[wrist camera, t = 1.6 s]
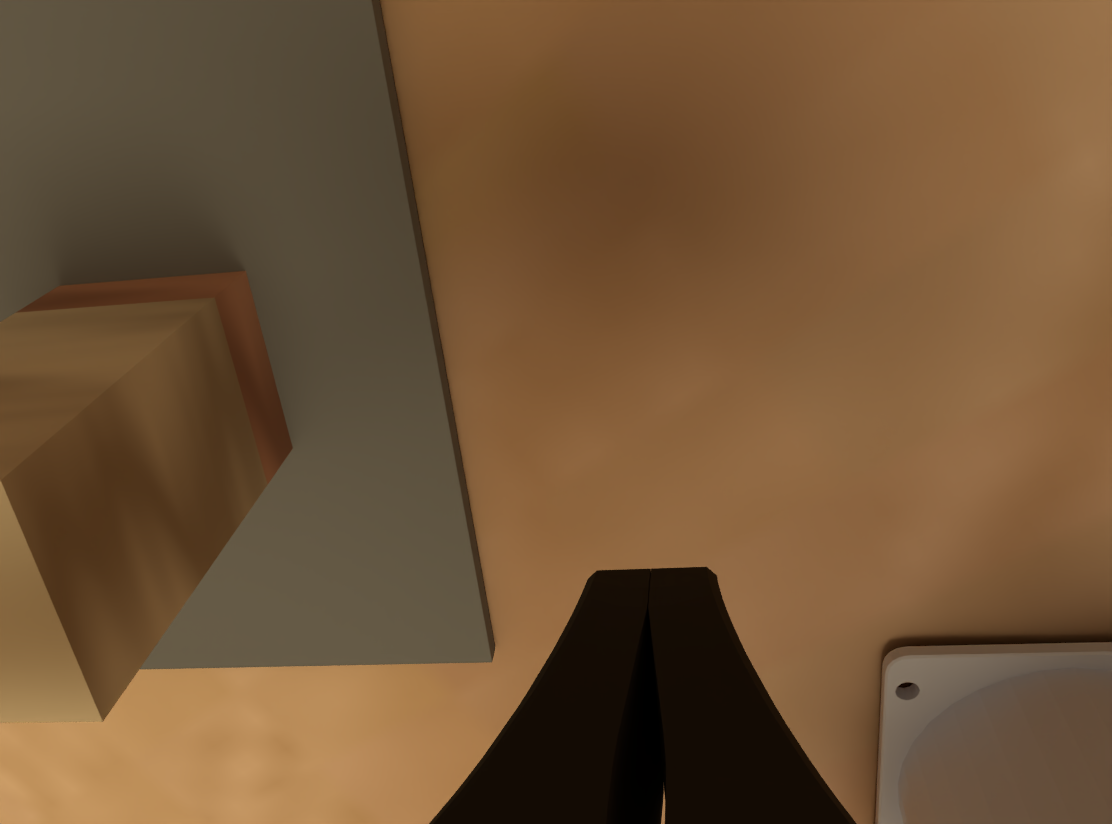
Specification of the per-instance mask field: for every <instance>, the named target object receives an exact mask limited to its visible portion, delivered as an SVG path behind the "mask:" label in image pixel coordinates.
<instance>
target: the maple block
mask: <svg viewBox="0 0 1112 824" xmlns="http://www.w3.org/2000/svg"><path fill="white" fill-rule="evenodd" d="M292 449H293V447H292V443H291V440H290V436H289V432H288V428H287V425H286V421H285V417H284V413H283V409H282V406H281V402H280V398H279V394H278V391H277V387H276V383H275V379H274V375H273V372H272V368H271V364H270V360H269V357H268V353H267V349H266V345H265V342H264V338H263V334H262V330H261V326H260V323H259V319H258V315H257V311H256V308H255V304H254V300H253V296H252V292H251V289H250V285H249V281H248V277H247V274H246V271H238V272H225V273H213V274H200V275H188V276H175V277H163V278H150V279H138V280H125V281H113V282H100V283H88V284H75V285H63V286H58V287H56V288H55V289H53V290H51V291H50V292H48V293H47V294H45V295H43V296H42V297H40V298H38V299H37V300H35V301H34V302H32V303H30V304H29V305H27V306H25V307H24V308H22V309H21V310H19V311H17V312H16V313H14V314H13V315H11V316H9V317H8V318H6V319H4V320H3V321H1V322H0V723H41V722H103V721H104V719H105V718H106V716H107V715H108V714H109V712H110V711H111V709H112V708H113V706H114V705H115V703H116V702H117V701H118V699H119V698H120V696H121V695H122V693H123V692H124V691H125V689H126V688H127V686H128V685H129V683H130V682H131V680H132V679H133V678H134V676H135V675H136V673H137V672H138V670H139V669H140V668H141V666H142V665H143V663H144V662H145V660H146V659H147V657H148V656H149V655H150V653H151V652H152V650H153V649H154V647H155V646H156V645H157V643H158V642H159V640H160V639H161V637H162V636H163V634H164V633H165V632H166V630H167V629H168V627H169V626H170V624H171V623H172V621H173V620H174V619H175V617H176V616H177V614H178V613H179V611H180V610H181V609H182V607H183V606H184V604H185V603H186V601H187V600H188V598H189V597H190V596H191V594H192V593H193V591H194V590H195V588H196V587H197V586H198V584H199V583H200V581H201V580H202V578H203V577H204V575H205V574H206V573H207V571H208V570H209V568H210V567H211V565H212V564H213V563H214V561H215V560H216V558H217V557H218V555H219V554H220V552H221V551H222V550H223V548H224V547H225V545H226V544H227V542H228V541H229V540H230V538H231V537H232V535H233V534H234V532H235V531H236V529H237V528H238V527H239V525H240V524H241V522H242V521H243V519H244V518H245V517H246V515H247V514H248V512H249V511H250V509H251V508H252V506H253V505H254V504H255V502H256V501H257V499H258V498H259V496H260V495H261V494H262V492H263V491H264V489H265V488H266V486H267V485H268V483H269V482H270V481H271V479H272V478H273V476H274V475H275V473H276V472H277V471H278V469H279V468H280V466H281V465H282V463H283V462H284V460H285V459H286V458H287V456H288V455H289V453H290V452H291V450H292Z"/></svg>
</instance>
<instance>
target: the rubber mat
mask: <svg viewBox="0 0 1112 824" xmlns="http://www.w3.org/2000/svg"><path fill="white" fill-rule="evenodd" d="M238 271H246V274H247V277H248V281H249V285H250V289H251V292H252V296H253V300H254V304H255V308H256V311H257V315H258V319H259V323H260V326H261V330H262V334H263V338H264V342H265V345H266V349H267V353H268V357H269V360H270V364H271V368H272V372H273V375H274V379H275V383H276V387H277V391H278V394H279V398H280V402H281V406H282V409H283V413H284V417H285V421H286V425H287V428H288V432H289V436H290V440H291V443H292V447H293V449H292V450H291V452H290V453H289V455H288V456H287V458H286V459H285V460H284V462H283V463H282V465H281V466H280V468H279V469H278V471H277V472H276V473H275V475H274V476H273V478H272V479H271V481H270V482H269V483H268V485H267V486H266V488H265V489H264V491H263V492H262V494H261V495H260V496H259V498H258V499H257V501H256V502H255V504H254V505H253V506H252V508H251V509H250V511H249V512H248V514H247V515H246V517H245V518H244V519H243V521H242V522H241V524H240V525H239V527H238V528H237V529H236V531H235V532H234V534H233V535H232V537H231V538H230V540H229V541H228V542H227V544H226V545H225V547H224V548H223V550H222V551H221V552H220V554H219V555H218V557H217V558H216V560H215V561H214V563H213V564H212V565H211V567H210V568H209V570H208V571H207V573H206V574H205V575H204V577H203V578H202V580H201V581H200V583H199V584H198V586H197V587H196V588H195V590H194V591H193V593H192V594H191V596H190V597H189V598H188V600H187V601H186V603H185V604H184V606H183V607H182V609H181V610H180V611H179V613H178V614H177V616H176V617H175V619H174V620H173V621H172V623H171V624H170V626H169V627H168V629H167V630H166V632H165V633H164V634H163V636H162V637H161V639H160V640H159V642H158V643H157V645H156V646H155V647H154V649H153V650H152V652H151V653H150V655H149V656H148V657H147V659H146V660H145V662H144V663H143V665H142V666H141V668H140V669H181V668H231V667H280V666H330V665H380V664H429V663H479V662H492V660H493V656H494V651H495V644H494V638H493V633H492V627H491V622H490V616H489V610H488V605H487V599H486V594H485V588H484V582H483V577H482V571H481V566H480V560H479V554H478V549H477V543H476V538H475V532H474V526H473V521H472V515H471V510H470V504H469V498H468V493H467V487H466V482H465V476H464V470H463V465H462V459H461V454H460V448H459V442H458V437H457V431H456V426H455V420H454V414H453V409H452V403H451V398H450V392H449V386H448V381H447V375H446V370H445V364H444V358H443V353H442V347H441V342H440V336H439V330H438V325H437V319H436V314H435V308H434V303H433V297H432V291H431V286H430V280H429V275H428V269H427V263H426V258H425V252H424V247H423V241H422V235H421V230H420V224H419V219H418V213H417V207H416V202H415V196H414V191H413V185H412V179H411V174H410V168H409V163H408V157H407V151H406V146H405V140H404V135H403V129H402V123H401V118H400V112H399V107H398V101H397V95H396V90H395V84H394V79H393V73H392V67H391V62H390V56H389V51H388V45H387V39H386V34H385V28H384V23H383V17H382V11H381V6H380V0H0V322H1V321H3V320H4V319H6V318H8V317H9V316H11V315H13V314H14V313H16V312H17V311H19V310H21V309H22V308H24V307H25V306H27V305H29V304H30V303H32V302H34V301H35V300H37V299H38V298H40V297H42V296H43V295H45V294H47V293H48V292H50V291H51V290H53V289H55V288H56V287H58V286H63V285H75V284H88V283H100V282H113V281H125V280H138V279H150V278H163V277H175V276H188V275H200V274H213V273H225V272H238Z"/></svg>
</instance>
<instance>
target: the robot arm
mask: <svg viewBox="0 0 1112 824" xmlns="http://www.w3.org/2000/svg"><path fill="white" fill-rule="evenodd" d="M906 682H910V683H914V684H912V685H911V686H910V687H905V688H901V687H898V686H899V685H900V684H902V683H906ZM664 792H665V801H666V802H665V824H856V822H855V821H854V820H853V818H852V817H851V816H850V815H849V813H848V812H847V811H846V809H845V808H844V807H843V806H842V804H841V803H840V802H839V800H838V799H837V798H836V796H835V795H834V794H833V792H832V791H831V790H830V788H829V787H828V785H827V784H826V783H825V781H824V780H823V778H822V777H821V776H820V774H819V773H818V771H817V770H816V768H815V767H814V766H813V764H812V763H811V761H810V760H809V758H808V757H807V755H806V754H805V752H804V751H803V749H802V748H801V746H800V745H799V743H798V742H797V740H796V738H795V737H794V735H793V734H792V732H791V731H790V729H789V728H788V726H787V725H786V723H785V721H784V720H783V718H782V716H781V715H780V713H779V711H778V710H777V708H776V707H775V705H774V703H773V701H772V700H771V698H770V696H769V694H768V692H767V691H766V689H765V687H764V685H763V684H762V682H761V680H760V678H759V676H758V675H757V673H756V671H755V669H754V667H753V666H752V664H751V662H750V660H749V658H748V656H747V654H746V652H745V650H744V648H743V646H742V644H741V642H740V640H739V637H738V635H737V633H736V631H735V629H734V626H733V624H732V622H731V619H730V617H729V615H728V612H727V610H726V607H725V604H724V601H723V599H722V595H721V592H720V588H719V585H718V580H717V575H716V574H714V573H713V572H712V571H711V570H710V569H708V568H707V567H690V568H659V569H629V570H599V571H596V572H595V573H594V574H593V575H592V576H591V577H590V578H589V579H588V580H587V582H586V585H585V587H584V590H583V592H582V595H581V597H580V599H579V601H578V603H577V605H576V607H575V609H574V612H573V614H572V616H571V618H570V619H569V621H568V623H567V625H566V627H565V629H564V631H563V633H562V635H561V636H560V638H559V640H558V642H557V644H556V646H555V647H554V649H553V651H552V653H551V654H550V656H549V658H548V659H547V661H546V663H545V664H544V666H543V668H542V669H541V671H540V673H539V674H538V676H537V677H536V679H535V681H534V682H533V684H532V686H531V687H530V689H529V691H528V692H527V694H526V696H525V697H524V699H523V700H522V702H521V703H520V705H519V706H518V708H517V709H516V711H515V712H514V714H513V715H512V716H511V718H510V719H509V721H508V722H507V724H506V725H505V726H504V728H503V729H502V731H501V732H500V734H499V735H498V736H497V738H496V739H495V741H494V742H493V744H492V745H491V746H490V748H489V749H488V751H487V752H486V754H485V755H484V756H483V758H482V759H481V760H480V762H479V763H478V764H477V766H476V767H475V768H474V770H473V771H472V772H471V773H470V775H469V776H468V777H467V779H466V780H465V781H464V782H463V784H462V785H461V786H460V787H459V789H458V790H457V791H456V792H455V794H454V795H453V796H452V797H451V799H450V800H449V801H448V802H447V803H446V804H445V806H444V807H443V808H442V809H441V810H440V812H439V813H438V814H437V815H436V816H435V817H434V819H433V820H432V821H431V822H430V823H429V824H661V817H662V805H663V794H664ZM875 824H1112V642H1090V643H1043V644H996V645H949V646H906V647H900V648H896V649H894V650H892V651H890V652H889V653H888V654H887V655H886V656H885V658H884V661H883V664H882V686H881V708H880V730H879V752H878V774H877V796H876V818H875Z"/></svg>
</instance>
